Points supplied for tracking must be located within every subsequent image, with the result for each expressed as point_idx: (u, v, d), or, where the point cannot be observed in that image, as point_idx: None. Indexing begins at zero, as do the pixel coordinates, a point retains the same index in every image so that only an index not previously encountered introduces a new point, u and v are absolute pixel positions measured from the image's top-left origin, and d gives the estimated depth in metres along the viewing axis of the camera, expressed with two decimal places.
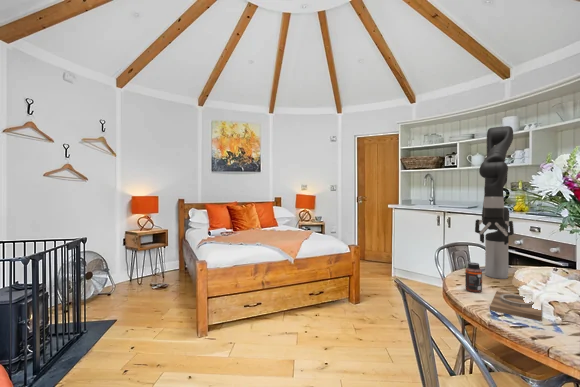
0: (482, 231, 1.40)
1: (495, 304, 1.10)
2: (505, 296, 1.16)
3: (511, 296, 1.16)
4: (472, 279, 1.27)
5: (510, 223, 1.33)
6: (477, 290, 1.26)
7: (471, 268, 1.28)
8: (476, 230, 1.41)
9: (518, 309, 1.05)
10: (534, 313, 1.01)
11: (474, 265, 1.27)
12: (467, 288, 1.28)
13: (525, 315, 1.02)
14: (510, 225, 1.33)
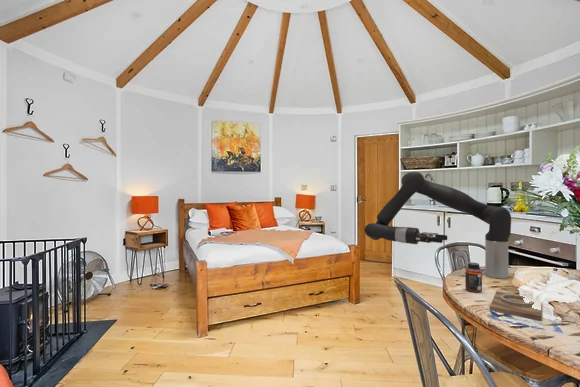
0: None
1: (495, 304, 1.10)
2: (505, 296, 1.16)
3: (511, 296, 1.16)
4: (472, 279, 1.27)
5: None
6: (477, 290, 1.26)
7: (471, 268, 1.28)
8: None
9: (518, 309, 1.05)
10: (534, 313, 1.01)
11: (474, 265, 1.27)
12: (467, 288, 1.28)
13: (525, 315, 1.02)
14: None
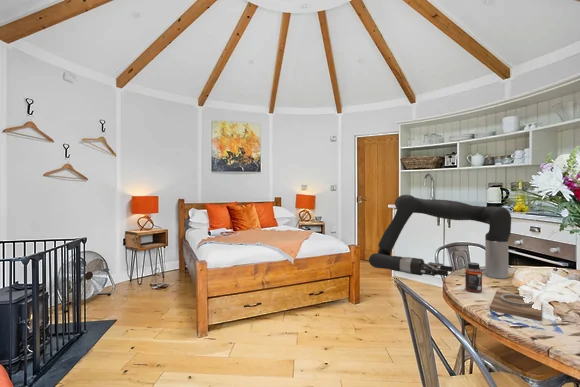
0: None
1: (495, 304, 1.10)
2: (505, 296, 1.16)
3: (511, 296, 1.16)
4: (472, 279, 1.27)
5: None
6: (477, 290, 1.26)
7: (471, 268, 1.28)
8: None
9: (518, 309, 1.05)
10: (534, 313, 1.01)
11: (474, 265, 1.27)
12: (467, 288, 1.28)
13: (525, 315, 1.02)
14: None
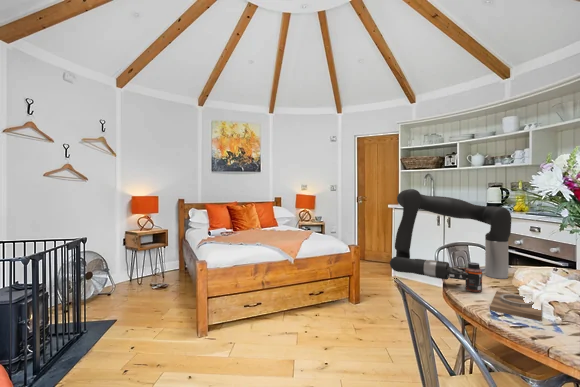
0: None
1: (495, 304, 1.10)
2: (505, 296, 1.16)
3: (511, 296, 1.16)
4: None
5: None
6: (477, 290, 1.26)
7: (471, 268, 1.28)
8: None
9: (518, 309, 1.05)
10: (534, 313, 1.01)
11: (474, 265, 1.27)
12: (467, 288, 1.28)
13: (525, 315, 1.02)
14: None
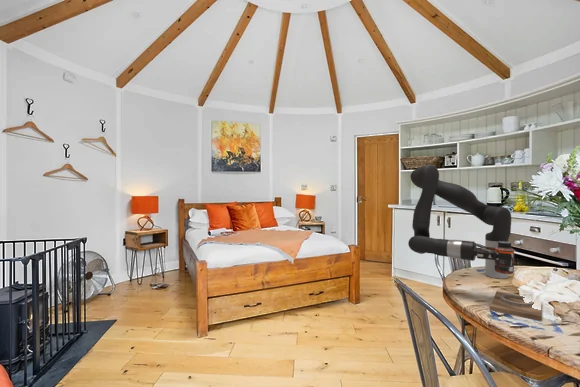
0: None
1: (495, 304, 1.10)
2: (505, 296, 1.16)
3: (511, 296, 1.16)
4: None
5: None
6: (509, 271, 1.13)
7: (502, 247, 1.14)
8: None
9: (518, 309, 1.05)
10: (534, 313, 1.01)
11: (505, 244, 1.14)
12: (497, 269, 1.15)
13: (525, 315, 1.02)
14: None
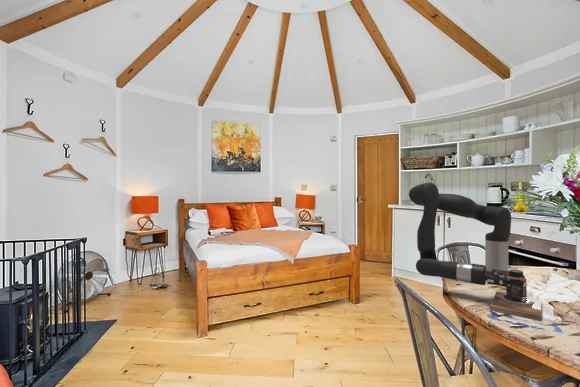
0: None
1: (495, 304, 1.10)
2: (505, 296, 1.16)
3: None
4: (516, 289, 1.10)
5: None
6: (521, 302, 1.09)
7: (514, 276, 1.11)
8: None
9: (518, 309, 1.05)
10: (534, 313, 1.01)
11: (517, 273, 1.10)
12: (509, 299, 1.11)
13: (525, 315, 1.02)
14: None
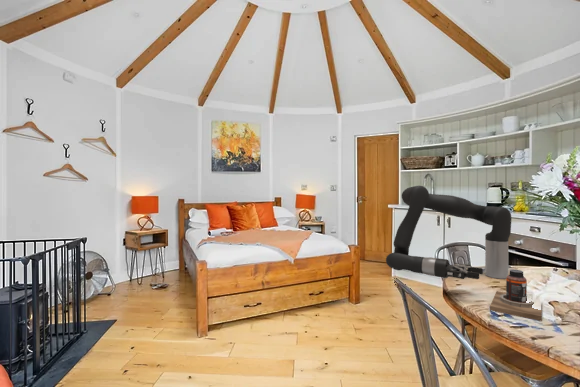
0: None
1: (495, 304, 1.10)
2: (505, 296, 1.16)
3: None
4: (516, 289, 1.10)
5: None
6: (521, 302, 1.09)
7: (514, 276, 1.10)
8: None
9: (518, 309, 1.05)
10: (534, 313, 1.01)
11: (517, 273, 1.10)
12: (509, 299, 1.11)
13: (525, 315, 1.02)
14: None
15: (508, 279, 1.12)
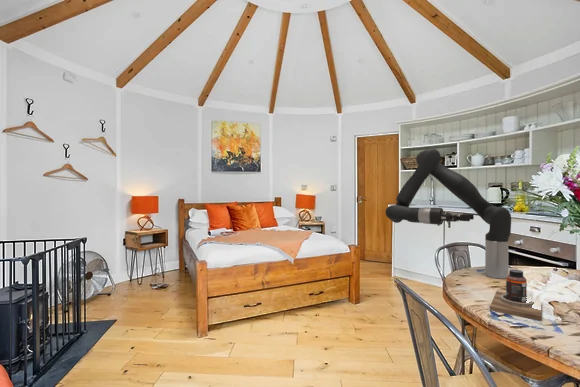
0: None
1: (495, 304, 1.10)
2: (505, 296, 1.16)
3: None
4: (516, 289, 1.10)
5: (443, 220, 1.32)
6: (521, 302, 1.09)
7: (514, 276, 1.11)
8: None
9: (518, 309, 1.05)
10: (534, 313, 1.01)
11: (517, 273, 1.10)
12: (509, 299, 1.11)
13: (525, 315, 1.02)
14: (446, 220, 1.31)
15: (508, 279, 1.12)
